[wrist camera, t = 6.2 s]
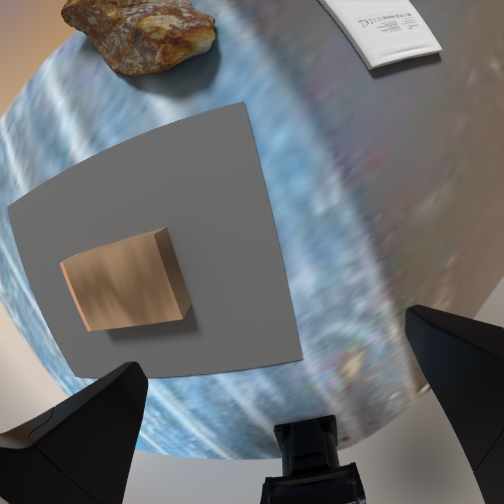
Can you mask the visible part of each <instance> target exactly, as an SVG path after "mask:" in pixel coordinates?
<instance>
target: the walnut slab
mask: <svg viewBox="0 0 504 504" xmlns="http://www.w3.org/2000/svg"><path fill="white" fill-rule="evenodd" d="M60 266H61V268H62V271H63V274H64V277H65V279H66V282H67V284H68V287H69V290H70V292H71V294H72V297H73V299H74V302H75V304H76V306H77V309H78V311H79V313H80V315H81V318H82V320H83V322H84V324H85V326H86V328H87V330H88V331H95V330H105V329H114V328H122V327H130V326H138V325H146V324H153V323H160V322H167V321H174V320H180V319H183V318H184V316H185V314H186V312H187V311H188V309H189V307H190V305H191V300H190V297H189V294H188V291H187V288H186V285H185V282H184V279H183V276H182V273H181V270H180V267H179V264H178V261H177V258H176V255H175V252H174V248H173V245H172V242H171V238H170V235H169V232H168V228H167V227H165V228H161V229H157V230H154V231H150V232H147V233H143V234H140V235H137V236H133V237H130V238H126V239H123V240H120V241H116V242H113V243H110V244H107V245H103V246H100V247H97V248H94V249H91V250H88V251H85V252H82V253H78V254H76V255H74V256H72V257H70V258H68V259H66V260H64V261H63V262H61V263H60Z"/></svg>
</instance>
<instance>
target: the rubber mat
mask: <svg viewBox="0 0 504 504" xmlns="http://www.w3.org/2000/svg"><path fill="white" fill-rule="evenodd" d="M7 209H8V214H9V218H10V223H11V227H12V230H13V234H14V238H15V242H16V245H17V248H18V252H19V255H20V258H21V261H22V264H23V267H24V270H25V273H26V276H27V278H28V281H29V284H30V286H31V289H32V291H33V294H34V296H35V299H36V301H37V304H38V306H39V308H40V310H41V313H42V315H43V317H44V319H45V321H46V324H47V326H48V328H49V330H50V332H51V334H52V336H53V338H54V340H55V341H56V343H57V345H58V347H59V349H60V351H61V353H62V354H63V356H64V358H65V360H66V361H67V363H68V365H69V367H70V368H71V370H72V372H73V373H74V375H75V376H76V377H89V378H102V377H103V376H105V375H106V374H108V373H110V372H111V371H113V370H114V369H116V368H117V367H119V366H121V365H122V364H124V363H125V362H130V361H136V362H138V363H139V364H140V366H141V368H142V370H143V372H144V373H145V375H146V377H147V378H155V377H174V376H189V375H200V374H210V373H220V372H228V371H236V370H243V369H250V368H257V367H263V366H269V365H275V364H280V363H286V362H291V361H296V360H301V359H303V357H302V352H301V346H300V341H299V336H298V331H297V326H296V321H295V316H294V311H293V306H292V301H291V297H290V292H289V287H288V282H287V278H286V273H285V268H284V264H283V259H282V255H281V250H280V246H279V241H278V237H277V232H276V228H275V224H274V219H273V215H272V211H271V206H270V202H269V198H268V194H267V190H266V185H265V181H264V177H263V173H262V169H261V165H260V161H259V157H258V153H257V149H256V145H255V141H254V137H253V133H252V130H251V126H250V122H249V118H248V114H247V110H246V107H245V103H244V102H240V103H236V104H232V105H228V106H224V107H221V108H217V109H213V110H210V111H207V112H203V113H200V114H197V115H194V116H190V117H187V118H184V119H181V120H178V121H175V122H173V123H170V124H167V125H164V126H161V127H159V128H156V129H153V130H151V131H148V132H146V133H143V134H141V135H138V136H136V137H133V138H131V139H129V140H126V141H124V142H122V143H120V144H117V145H115V146H113V147H111V148H108V149H106V150H104V151H102V152H100V153H98V154H96V155H94V156H92V157H90V158H88V159H86V160H84V161H82V162H80V163H78V164H76V165H74V166H73V167H71V168H69V169H67V170H65V171H63V172H62V173H60V174H58V175H56V176H55V177H53V178H51V179H50V180H48V181H46V182H45V183H43V184H41V185H40V186H38V187H36V188H35V189H33V190H32V191H30V192H29V193H27V194H26V195H24V196H23V197H21V198H20V199H18V200H17V201H15V202H14V203H12V204H11V205H10V206H8V207H7ZM165 227H167V228H168V232H169V235H170V238H171V242H172V245H173V248H174V252H175V255H176V258H177V261H178V264H179V267H180V270H181V273H182V276H183V279H184V282H185V285H186V288H187V291H188V294H189V297H190V300H191V305H190V307H189V309H188V311H187V312H186V314H185V316H184V318H183V319H180V320H174V321H167V322H160V323H153V324H146V325H138V326H130V327H122V328H114V329H105V330H95V331H88V330H87V328H86V326H85V324H84V322H83V320H82V318H81V315H80V313H79V311H78V309H77V306H76V304H75V302H74V299H73V297H72V294H71V292H70V290H69V287H68V284H67V282H66V279H65V277H64V274H63V271H62V268H61V266H60V263H61V262H63V261H64V260H66V259H68V258H70V257H72V256H74V255H76V254H78V253H82V252H85V251H88V250H91V249H94V248H97V247H100V246H103V245H107V244H110V243H113V242H116V241H120V240H123V239H126V238H130V237H133V236H137V235H140V234H143V233H147V232H150V231H154V230H157V229H161V228H165Z"/></svg>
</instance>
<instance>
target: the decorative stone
mask: <svg viewBox="0 0 504 504" xmlns="http://www.w3.org/2000/svg"><path fill="white" fill-rule="evenodd" d="M191 4H192V3H190V2H189V1H188V0H67V2H66V4H65V5H64V7H63V9H62V11H61V15H62V17H63V19H64V22H66V23H67V24H68V25H70V26H71V27H74V28H76V29H77V30H79V31H82V32H83V33H85V34H86V35H87V36H88V39H89V42H90V43H91V44H92V45H94V46H95V47H96V48H97V50H98V51H99V52H100V53H101V55H102V57H103V58H104V59H105V61H106V62H107V64H108V65H109V66H110V67H111V68H112V69H113V70H115V71H116V72H118V73H122V74H127V75H129V76H142V75H146V74H148V73H156V72H163V71H166V70H168V69H169V68H172V67H173V66H174V65H176V64H179V63H181V62H182V61H184V60H186V59H188V58H190V57H193V56H196V55H200V54H204V53H206V52H207V51H208V50H209V49H210V47H211V45H212V43H213V42H214V40H215V38H216V35H215V32H214V29H215V26H214V23H215V19H214V18H213V17H211V16H209V15H208V14H205V13H203V12H201V11H199V10H197V9H195V8H193V7H192V6H191Z"/></svg>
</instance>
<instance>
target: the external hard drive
mask: <svg viewBox="0 0 504 504" xmlns="http://www.w3.org/2000/svg"><path fill="white" fill-rule="evenodd" d="M318 1H319V2H320V3H321V4H322V5H323V6H324V8H325V9H326V10H327V11H328V13H329V14H330V15H331V16H332V18H333V19H334V20H335V21H336V23H337V24H338V25H339V27H340V28H341V29H342V31H343V32H344V33H345V35H346V36H347V38H348V39H349V40H350V42H351V43H352V45H353V46H354V48H355V49H356V51H357V52H358V54H359V55H360V57H361V58H362V60H363V61H364V63H365V64H366V66H367V68H368V69H369V70H371V69H374V68H377V67H381V66H384V65H388V64H392V63H395V62H399V61H402V60H405V59H409V58H416V57H420V56H425V55H430V54H435V53H439V52H441V51H442V48H441V47H440V45H439V43H438V42H437V40H436V39H435V37H434V36H433V34H432V32H431V31H430V29H429V28H428V26H427V25H426V23H425V22H424V21H423V19H422V18H421V16H420V15H419V14H418V12H417V11H416V10H415V8H414V7H413V6H412V4H411V3H410V2H409V0H318Z"/></svg>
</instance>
